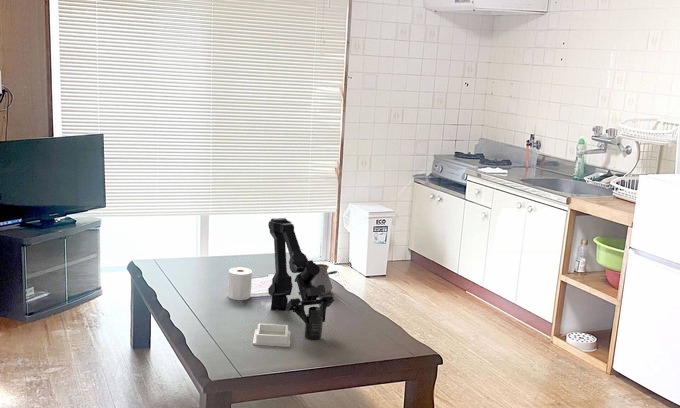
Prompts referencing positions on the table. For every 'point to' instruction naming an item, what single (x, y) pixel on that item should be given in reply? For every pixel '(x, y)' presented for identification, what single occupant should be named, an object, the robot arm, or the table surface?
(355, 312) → the table surface
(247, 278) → the toilet paper
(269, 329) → the holder
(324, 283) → the coffee pot
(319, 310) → the supplement bottle
